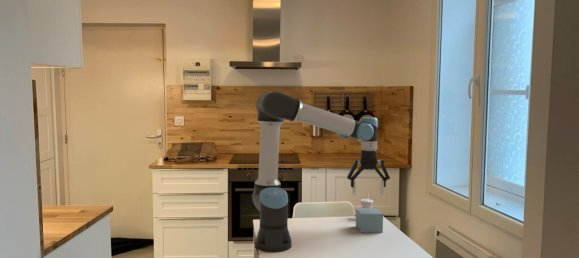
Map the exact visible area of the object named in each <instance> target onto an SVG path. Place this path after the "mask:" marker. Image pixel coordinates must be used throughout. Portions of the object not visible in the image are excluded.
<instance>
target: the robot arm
mask: <svg viewBox="0 0 579 258" xmlns="http://www.w3.org/2000/svg"><path fill="white" fill-rule="evenodd" d="M255 105H256V110H257V111H256V112H257V123H258V124H259V125H260V134H259V137H260V138H259V153H258V154H259V156H258V174H257V177H258V178H257V180H255V181H254V189H253V192H252V195H251V196H252V197H251V201H252V203H253V206H254V207H255V208H256V209H257V210H258V211H259V228H258V232H257V234H256V238H255V241H254V243H255V244H254V245H255V246H254V247H255V248H256V249H257V250H260V251H263V252H268V253H276V252H277V253H278V252H283V251H286V250H289V249H290V248H292V243H293V242H292V238H291V234H290V231H289V228H288V226H289V225H288V220H289V218H288V215H289V214H288V212H289V211H288V210H289V208H288V207H289V203H288V202H289V198H288V192H287V191H286V190H285V189H283V188H281V187H282V186H281V182H280V181H279V178H278V177H279V176H278V173H279V155H280V153H279V151H280V137H281V136H280V131H281V126H282V125H283V124H284V120H287V121H289V122H294V121H298V122H302V123H304V124H308V125H311V126H314V127H317V128H320V129H324V130H328V131H330V132H334V133H335V134H337V136H338V137H339V138H344V139H347V138H348V139H349V138H350V139H354V140H359V141H361V142H360V149H361V151H360V160H357V159H353V164H352V167H351V168H350V170H349V173H347V176H346V179H348V180H350V187H351V188H352V194H353V196H356V191H357V189H356V185H357V184H356V183H357V181H356V179H357V178H358V176H359V175H360V174H361V173H362V172H363V171H364V170H366V171H367V170H374V171H375V173H376V174H378V176H379V177H380V178H381V179H380V192H379V193H380V194H381V195H384V191H385V188H386V186H387V181H388V180H390V179H391V177H390V175H389V173H388V171H387V168H386V166H385V161H384V160H383V159H378V151H377V149H378V130H379V129H378V128H379V125H378V124H379V121H378V118H377V117H372V116H371V117H369V116H367V117H365V116H363V117H362V118H361V121H358V120H355V119H353V118H350V117H346V116H342V115H340V114H337V113H334V112H331V111H328V110H325V109H322V108H319V107H315V106H313V105H309V104H306V103H304V102H302V101H301V100H300V99H299V98H296V97H294V96H291V95H290V94H289V95H288V94H286V93H285V92H282V91H280V90H273V91H272V90H271V91H270V90H269V91H265V92H263V93H262V94H261V95H260V96H259V97H258V98H257V100H256V104H255ZM359 164H360V166H359V167H358V165H359ZM377 165H379V166H380V168H381V170H382V172H383V173H382V172H381V171H380V169H379V168H378V167H377ZM357 167H358V169H357ZM356 169H357V170H356ZM355 170H356V172H355Z"/></svg>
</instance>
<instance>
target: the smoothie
mask: <svg viewBox="0 0 579 258" xmlns="http://www.w3.org/2000/svg"><path fill="white" fill-rule="evenodd" d="M369 194H370V192H368V191H367V198H363V199H360V203H361V208H373V203H374V200H373V199H370V198H369V197H370V195H369Z"/></svg>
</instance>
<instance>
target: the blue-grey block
mask: <svg viewBox="0 0 579 258" xmlns="http://www.w3.org/2000/svg"><path fill="white" fill-rule="evenodd" d="M383 226H384V213H382V212H381V210H379V209H378V208H376V207H375V208H374V207H372V208H362V207H361V208H355V227H356V229H357V228H358V229H357V230H358V231H359V232H360V233H361V234H372V233H373V234H376V233H379V234H380V233H381V234H382V233H383V229H384V227H383Z"/></svg>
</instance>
